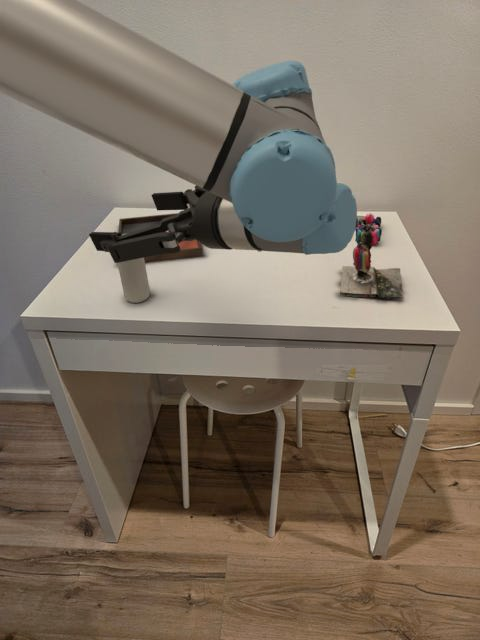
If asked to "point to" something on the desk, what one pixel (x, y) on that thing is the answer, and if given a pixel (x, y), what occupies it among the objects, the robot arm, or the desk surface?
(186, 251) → the sorting tray
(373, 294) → the statue
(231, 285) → the desk surface
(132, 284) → the beverage can
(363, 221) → the toy car
